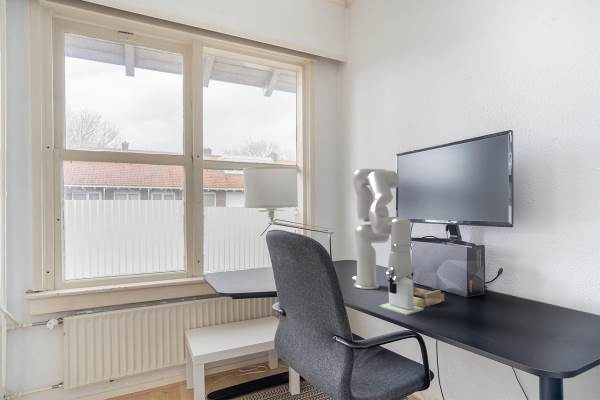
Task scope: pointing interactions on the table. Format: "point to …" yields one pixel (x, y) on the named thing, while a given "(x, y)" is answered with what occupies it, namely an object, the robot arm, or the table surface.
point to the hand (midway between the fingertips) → (400, 291)
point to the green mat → (401, 309)
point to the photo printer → (403, 294)
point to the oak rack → (427, 297)
